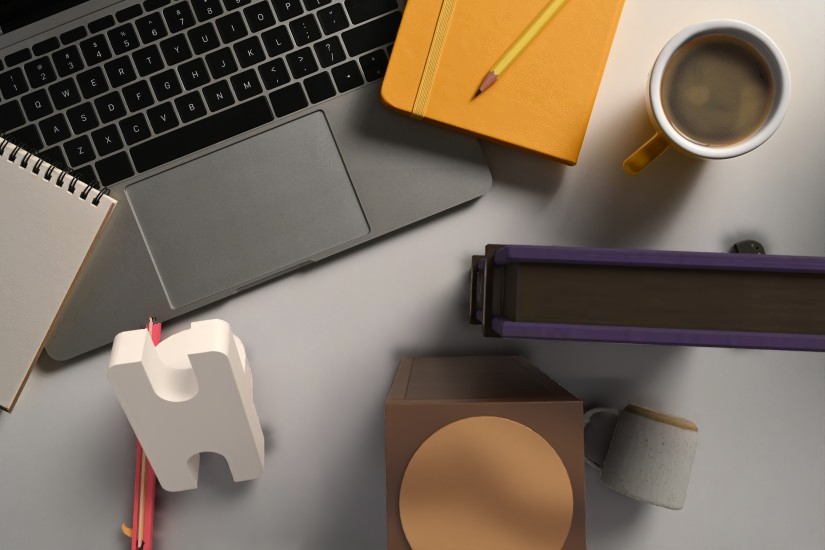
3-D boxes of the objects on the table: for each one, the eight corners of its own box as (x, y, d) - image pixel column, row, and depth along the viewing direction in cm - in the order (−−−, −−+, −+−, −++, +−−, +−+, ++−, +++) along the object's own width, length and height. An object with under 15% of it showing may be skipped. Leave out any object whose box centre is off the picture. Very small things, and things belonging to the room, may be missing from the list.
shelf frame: (524, 476, 69) (582, 590, 43) (404, 477, 69) (389, 592, 43) (521, 355, 69) (577, 396, 43) (402, 357, 70) (385, 399, 44)
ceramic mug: (686, 415, 69) (717, 430, 61) (665, 495, 69) (694, 520, 61) (582, 386, 69) (599, 398, 61) (561, 466, 69) (576, 488, 61)
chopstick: (168, 562, 68) (117, 563, 67) (171, 553, 70) (122, 555, 69) (180, 318, 69) (130, 316, 68) (183, 317, 71) (134, 315, 70)
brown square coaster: (582, 590, 43) (589, 604, 41) (389, 592, 43) (387, 605, 41) (577, 396, 43) (584, 401, 41) (385, 399, 44) (383, 404, 42)
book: (705, 267, 69) (918, 252, 39) (703, 331, 69) (915, 364, 39) (468, 258, 70) (498, 235, 40) (466, 320, 69) (494, 346, 39)
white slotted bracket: (266, 477, 67) (266, 391, 75) (225, 349, 55) (231, 264, 63) (165, 493, 66) (176, 405, 74) (102, 366, 54) (123, 278, 63)
